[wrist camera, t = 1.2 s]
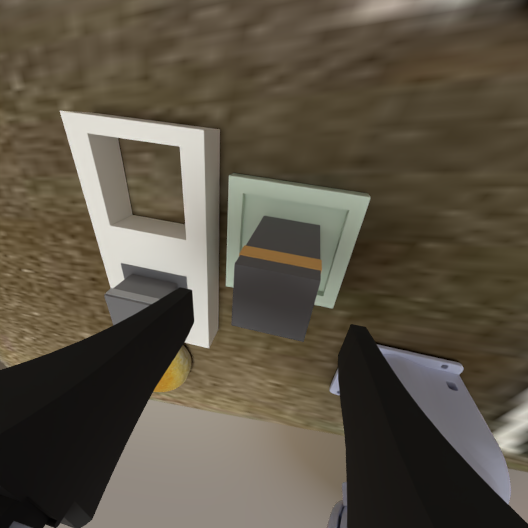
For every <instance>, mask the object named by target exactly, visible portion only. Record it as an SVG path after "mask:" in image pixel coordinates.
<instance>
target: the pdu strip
mask: <svg viewBox="0 0 528 528" xmlns="http://www.w3.org/2000/svg"><path fill="white" fill-rule="evenodd" d="M60 113H61V116H62V120H63V123H64V127H65V130H66V134H67V137H68V141H69V144H70V148H71V151H72V155H73V158H74V162H75V165H76V169H77V172H78V176H79V179H80V182H81V186H82V189H83V193H84V196H85V200H86V203H87V207H88V210H89V214H90V217H91V221H92V224H93V228H94V231H95V235H96V238H97V241H98V245H99V248H100V252H101V255H102V259H103V262H104V266H105V269H106V273H107V276H108V280H109V283H110V287H111V289H110V290H109V291H108V292H106V294H105V295H104V296H105V299H106V302H107V306H108V309H109V312H110V315H111V318H112V322H113V325H115V324H117V323H119V322H121V321H123V320H125V319H127V318H128V317H130V316H132V315H134V314H136V313H138V312H139V311H141V310H143V309H144V308H146V307H148V306H149V305H151V304H153V303H154V302H156V301H158V300H159V299H161V298H163V297H164V296H166V295H168V294H169V293H171V292H173V291H174V290H176V289H178V288H179V287H181V288H186V289H191V290H192V293H193V308H194V324H193V326H192V328H191V330H190V333H189V335H188V337H187V339H186V341H185V343H189V344H193V345H197V346H201V347H206V348H209V347H210V345H211V343H212V341H213V339H214V337H215V335H216V333H217V331H218V316H219V190H220V129H213V128H206V127H198V126H190V125H183V124H175V123H168V122H160V121H153V120H145V119H138V118H130V117H122V116H115V115H107V114H100V113H90V112H72V111H60ZM118 138H124V139H131V140H138V141H145V142H152V143H159V144H166V145H173V146H180V158H181V172H182V186H183V200H184V214H185V224H180V223H175V222H169V221H164V220H158V219H153V218H148V217H142V216H137V215H133V214H132V209H131V204H130V198H129V193H128V188H127V183H126V177H125V172H124V167H123V162H122V156H121V151H120V146H119V140H118Z"/></svg>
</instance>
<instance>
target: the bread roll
mask: <svg viewBox="0 0 528 528" xmlns="http://www.w3.org/2000/svg"><path fill="white" fill-rule="evenodd" d="M190 369H191V356H190V354H189V352H188V350H187V349H186V347H185V346H184V345H183V346H182V347H181V349H180V350H179V352H178V353H177V355H176V357H175V358H174V360H173V361H172V363H171V364H170V366H169V367H168V369H167V371H166V372H165V374H164V375H163V377H162V378H161V380H160V381H159V383H158V384H157V386H156V388H155V389H154V391H155V392H166V391H170V390H173V389H175V388H178V387H179V386H180V385H182V384H183V383H184V381H185V380H186V378H187V376H188V374H189V372H190Z"/></svg>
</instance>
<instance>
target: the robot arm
mask: <svg viewBox="0 0 528 528" xmlns="http://www.w3.org/2000/svg"><path fill="white" fill-rule="evenodd" d="M193 324H194V308H193V293H192V290H191V289H186V288H181V287H179V288H178V289H176V290H174V291H173V292H171V293H169V294H168V295H166V296H164V297H163V298H161V299H159V300H158V301H156V302H154V303H153V304H151V305H149V306H148V307H146V308H144V309H143V310H141V311H139V312H138V313H136V314H134V315H132V316H130V317H128V318H127V319H125V320H123V321H121V322H119V323H117V324H115V325H114V326H112V327H110V328H108V329H106V330H103V331H101V332H99V333H97V334H95V335H93V336H91V337H88V338H86V339H84V340H82V341H79V342H77V343H74V344H72V345H69V346H67V347H64V348H62V349H59V350H57V351H54V352H52V353H49V354H47V355H44V356H41V357H38V358H35V359H33V360H30V361H27V362H24V363H21V364H18V365H15V366H12V367H9V368H6V369H2V370H0V528H43V527H44V526H45V524H46V525H49V526H51V527H54V528H56V527H58V525H59V524H60V523H62V524H65V525H68V526H70V527H73V528H81V527H83V526H84V525H86V524H87V523H88V522H90V521H91V520H92V518H93V516H94V514H95V511H96V509H97V507H98V504H99V502H100V500H101V498H102V495H103V493H104V491H105V488H106V486H107V484H108V482H109V480H110V477H111V475H112V473H113V471H114V469H115V466H116V464H117V462H118V460H119V458H120V456H121V454H122V452H123V450H124V447H125V445H126V443H127V441H128V439H129V437H130V435H131V433H132V431H133V429H134V427H135V425H136V423H137V421H138V419H139V417H140V415H141V413H142V411H143V410H144V407H145V406H146V404H147V401H148V400H149V398H150V396H151V394H152V393H153V391H154V389H155V388H156V386H157V384H158V383H159V381H160V380H161V378H162V377H163V375H164V374H165V372H166V371H167V369H168V367H169V366H170V364H171V363H172V361H173V360H174V358H175V357H176V355H177V353H178V352H179V350H180V349H181V347H182V346H183V344H184V342H185V341H186V339H187V337H188V335H189V333H190V330H191V328H192V326H193ZM463 369H464V368H463V366H462V364H460V363H458V362H454V361H449V360H445V359H440V358H436V357H431V356H427V355H423V354H418V353H414V352H409V351H405V350H400V349H396V348H391V347H387V346H382V345H378V344H376V343H375V341H374V340H373V338H372V336H371V335H370V333H369V331H368V330H367V328H366V327H363V326H358V325H353V324H351V325H350V328H349V330H348V333H347V335H346V338H345V340H344V342H343V345H342V347H341V350H340V352H339V354H338V369H337V371H336V374H335V376H334V378H333V381H332V383H331V385H330V392H331V393H333V394H337V395H340V400H341V408H342V417H343V425H344V434H345V444H346V471H347V482H343V483H342V492H343V500H341V501H338V502H337V503H336V504H335V505H334V507H333V509H332V512H331V514H330V519H329V521H328V524H327V528H528V524H527V523H526V522H525V521H524V520H523V519H522V518H521V517H520V516H519V515H518V514H517V513H516V512H515V511H514V510H513V509H512V508H511V507H510V506H509V505H508V504H509V501H510V496H511V485H510V477H509V473H508V468H507V465H506V461H505V459H504V456H503V454H502V451H501V449H500V447H499V445H498V443H497V442H496V440H495V438H494V436H493V434H492V433H491V431H490V429H489V427H488V426H487V424H486V422H485V420H484V418H483V417H482V415H481V413H480V411H479V410H478V408H477V406H476V404H475V402H474V401H473V399H472V397H471V395H470V393H469V392H468V390H467V388H466V386H465V385H464V383H463V381H462V379H461V377H460V376H459V375H460V373H461V372H462V371H463Z"/></svg>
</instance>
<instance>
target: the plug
mask: <svg viewBox="0 0 528 528" xmlns="http://www.w3.org/2000/svg"><path fill="white" fill-rule="evenodd" d="M321 271H322V260H320V225H316V224H310V223H305V222H299V221H293V220H287V219H281V218H275V217H270V216H263V218H262V220H261V221H260V223H259V225H258V226H257V228H256V230H255V231H254V233H253V234H252V236H251V238H250V239H249V241H248V243H247V244H246V245H244V247H243V248H242V250H241V252H240V253H239V257H238V259H237V261H236V262H235V264H234V285H233V306H232V325H233V326H237V327H241V328H246V329H250V330H254V331H259V332H263V333H267V334H272V335H276V336H281V337H285V338H289V339H294V340H298V341H302V342H304V338H305V335H306V331H307V328H308V324H309V321H310V317H311V313H312V310H313V306H314V303H315V299H316V296H317V292H318V289H319V285H320V282H321Z"/></svg>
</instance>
